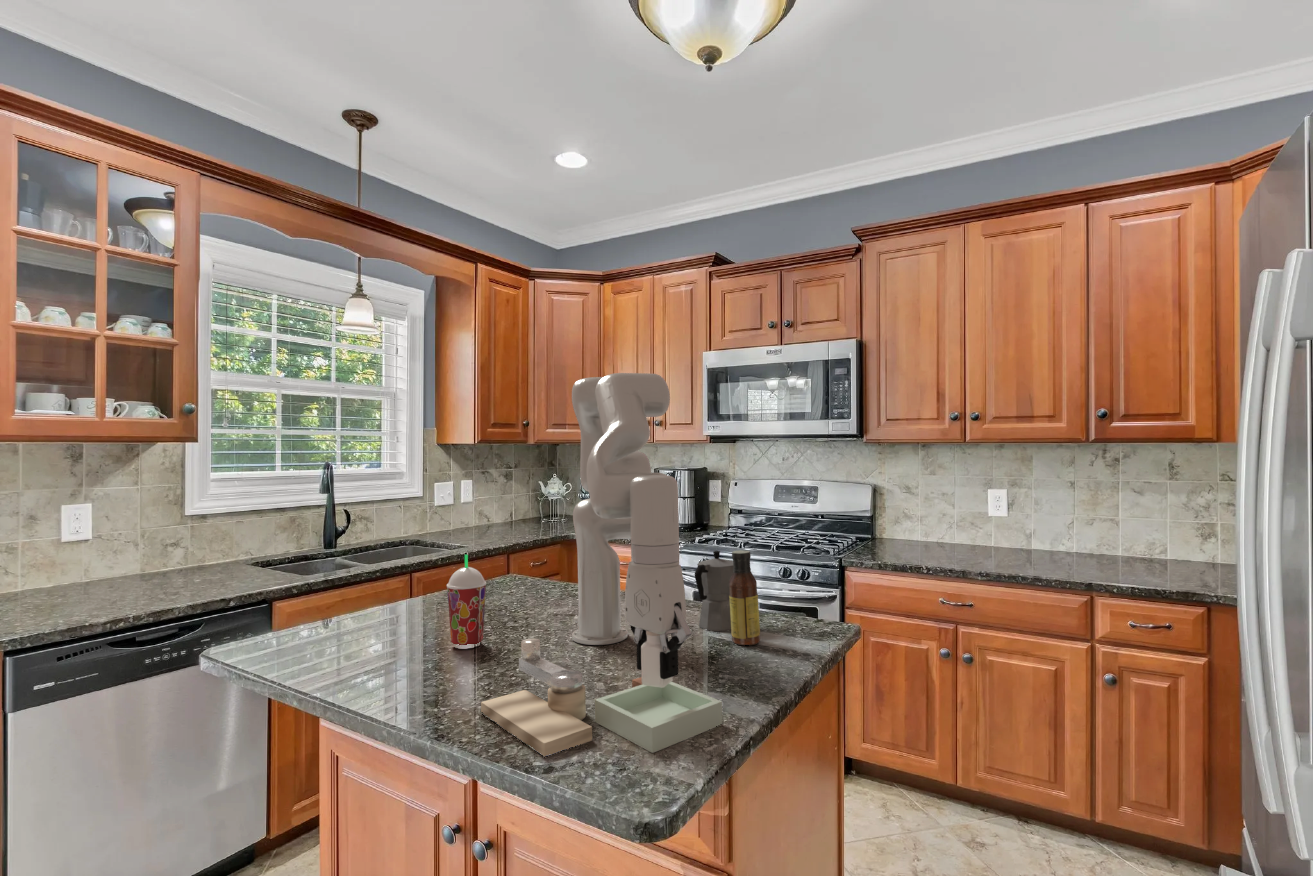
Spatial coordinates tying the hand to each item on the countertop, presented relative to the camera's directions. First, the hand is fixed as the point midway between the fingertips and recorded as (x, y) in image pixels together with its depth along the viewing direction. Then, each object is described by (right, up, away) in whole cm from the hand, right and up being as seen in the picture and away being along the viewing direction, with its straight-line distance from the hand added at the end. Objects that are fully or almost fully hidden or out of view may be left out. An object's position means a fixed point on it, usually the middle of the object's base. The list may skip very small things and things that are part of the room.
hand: (657, 671), depth 101 cm
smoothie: (-42, -10, +42) cm, 60 cm away
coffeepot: (+14, -9, +53) cm, 56 cm away
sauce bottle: (+19, -9, +41) cm, 46 cm away
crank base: (-12, -8, +5) cm, 16 cm away
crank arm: (-18, -4, +7) cm, 20 cm away
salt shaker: (0, -2, 0) cm, 2 cm away
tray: (0, -8, 0) cm, 8 cm away
